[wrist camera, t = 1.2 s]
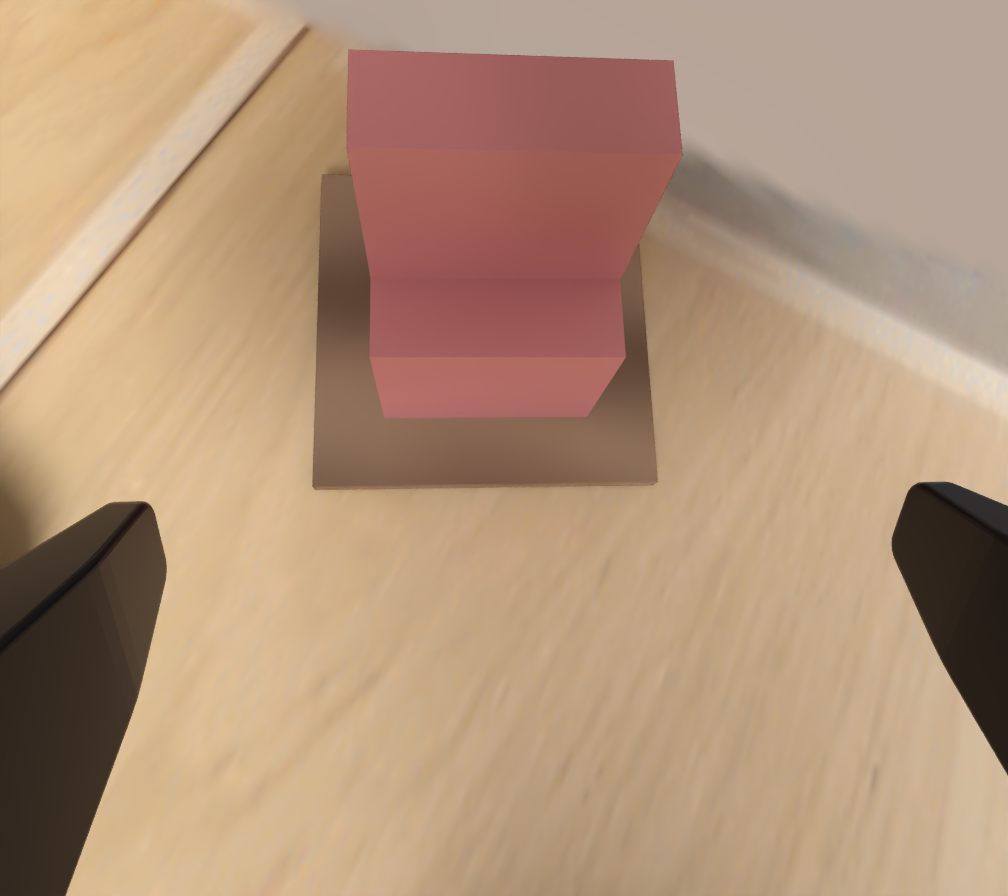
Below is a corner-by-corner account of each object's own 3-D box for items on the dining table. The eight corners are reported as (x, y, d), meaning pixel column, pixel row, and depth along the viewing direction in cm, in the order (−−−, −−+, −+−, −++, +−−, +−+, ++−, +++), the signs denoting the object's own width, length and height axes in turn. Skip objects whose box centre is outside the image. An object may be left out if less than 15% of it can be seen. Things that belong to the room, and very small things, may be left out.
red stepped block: (587, 417, 23) (692, 255, 14) (384, 418, 23) (343, 251, 13) (574, 198, 25) (659, -82, 15) (385, 195, 25) (351, -97, 15)
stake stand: (653, 484, 23) (695, 453, 20) (314, 489, 23) (289, 457, 19) (630, 189, 26) (663, 109, 22) (323, 183, 25) (303, 99, 21)
